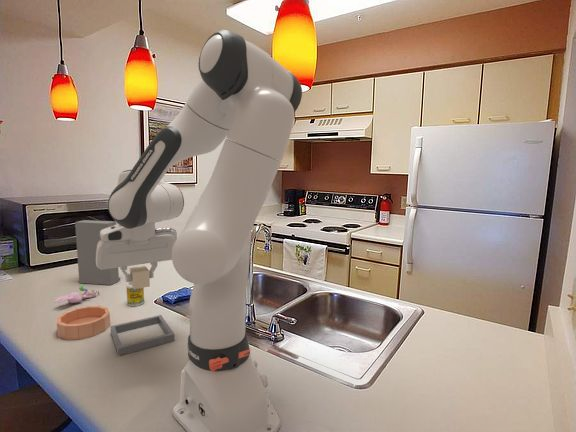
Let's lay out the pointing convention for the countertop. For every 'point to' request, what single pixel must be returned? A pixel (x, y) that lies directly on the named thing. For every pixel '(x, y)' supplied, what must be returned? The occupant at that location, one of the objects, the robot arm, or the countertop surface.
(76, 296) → the rabbit figure
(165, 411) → the countertop surface
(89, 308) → the bowl
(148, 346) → the grey rectangular frame
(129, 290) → the supplement bottle
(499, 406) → the countertop surface
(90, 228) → the tall grey upright pillar
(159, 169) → the robot arm
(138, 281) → the cream block
